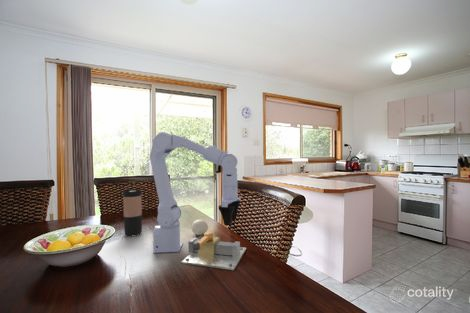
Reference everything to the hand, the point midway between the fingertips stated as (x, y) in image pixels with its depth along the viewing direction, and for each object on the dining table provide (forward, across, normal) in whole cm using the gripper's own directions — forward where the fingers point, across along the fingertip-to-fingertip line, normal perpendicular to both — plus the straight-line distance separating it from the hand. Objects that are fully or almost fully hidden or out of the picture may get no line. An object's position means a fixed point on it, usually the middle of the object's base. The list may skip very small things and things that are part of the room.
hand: (230, 222), depth 85 cm
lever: (+5, -10, +7) cm, 13 cm away
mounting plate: (+10, -7, +4) cm, 13 cm away
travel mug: (+10, +7, +49) cm, 50 cm away
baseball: (+10, +12, +18) cm, 24 cm away
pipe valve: (+10, -5, +5) cm, 12 cm away
